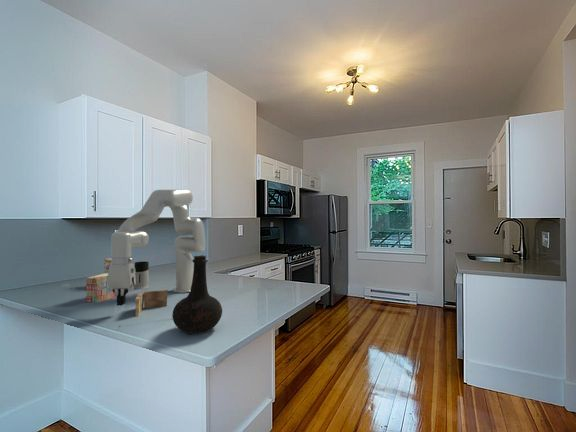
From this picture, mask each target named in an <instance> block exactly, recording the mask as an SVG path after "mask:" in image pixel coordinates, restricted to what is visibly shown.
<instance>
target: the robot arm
mask: <svg viewBox="0 0 576 432" xmlns="http://www.w3.org/2000/svg"><path fill="white" fill-rule="evenodd" d="M193 199H194V198H193V194H192V192H191V191H190V190H189V189H156V190H154V191H152V192H151V193H150V195H149V197H148V199H147V200H146V202H144V204H143V207H142V208H141V209H140V210H139V211H138V212H136V213H134V214H133V215H132V216H131V215H130V216H129V217H128V218H126V220H125V221H123V222H122V224H121V225H120V226H119V227H118V230H116V231H115V232H113V233H112V234H111V238H110V239H111V240H110V243H111V246H110V247H111V251H110V252H111V253H110V254H111V255H110V258H111V265H110V267H109V271H108V287H109V288H108V290H110V291H113V292H114V293H115V295H116V296H115V297H116V305H117V306H123V305H125V304H126V300H127V299H126V298H127V297H126V296H127V294H128V293H129V292H133V291H135V289H134V286H135V285H136V277H135V269H134V267H135V264H133V263H135V258H133V257H132V248H133V249H134V248H135V249H136V248H137V249H138V248H144V247H146V246H147V245H148V243H149V242H150V241H149V240H150V237H149V234H148V233H147V232H145V231H143V230H138V229H140V228H141V227H143V226H147V225H150V224H152V223H154V222H157V220H158V219H159V218H160V216H161V215H162V212H163V211H164V209H165V208H166V207H168V208H169V209H170V210H171V213H172V219H173V224H174V230H175V232H176V234H178V235H179V236H177V237H176V238H175V240H174V249H175V250H174V251H175V257H176V258H175V259H176V260H175V263H176V264H175V287H174V288H173V289H172V292H173V293H178V294H179V293H180V294H182V293H185V294H186V293H190V289H191V285H192V279H193V271H194V262H192V260H194V256H193V255H192V253H194V254H197V253H199V254H200V253H203V252H204V251H205V249H206V242H207V241H206V235H205V226H204V223H203V221H202V219H200V218H199V217H190V214H189V213H190V212H189V208H188V206H189V205H190V204H191V203H192V202H193Z"/></svg>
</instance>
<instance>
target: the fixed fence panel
mask: <svg viewBox="0 0 576 432" xmlns="http://www.w3.org/2000/svg"><path fill="white" fill-rule="evenodd" d="M142 293H143V295H142V310H143V309H150V308H151V309H153V308H160V307H167V306H168V290H167V289H158V290H149V291H144V292H142Z"/></svg>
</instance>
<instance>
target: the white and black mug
mask: <svg viewBox="0 0 576 432" xmlns="http://www.w3.org/2000/svg"><path fill="white" fill-rule="evenodd" d="M134 269H135V277H136V285H135V286H134V290H143V289H149V288H150V284H149V282H150V281H149V279H150V277H149V275H150V273H149V272H150V268H149V261H136V262H135V261H134Z"/></svg>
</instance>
